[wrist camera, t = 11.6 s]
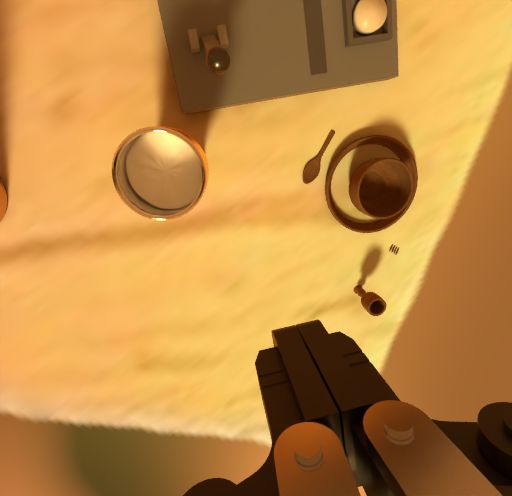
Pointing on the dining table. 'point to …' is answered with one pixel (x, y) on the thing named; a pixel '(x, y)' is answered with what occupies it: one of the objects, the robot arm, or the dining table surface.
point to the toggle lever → (215, 55)
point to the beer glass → (160, 172)
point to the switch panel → (273, 49)
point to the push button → (369, 16)
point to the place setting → (372, 194)
